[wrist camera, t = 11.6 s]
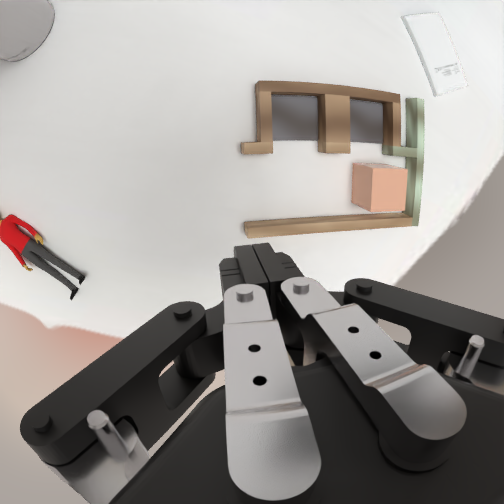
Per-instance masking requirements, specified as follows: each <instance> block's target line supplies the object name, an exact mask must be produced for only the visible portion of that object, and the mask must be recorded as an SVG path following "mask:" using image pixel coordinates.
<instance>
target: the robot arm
mask: <svg viewBox="0 0 504 504" xmlns="http://www.w3.org/2000/svg"><path fill="white" fill-rule="evenodd" d="M53 21H54V8H53V6H52V4H51V3H50V2H49V1H48V0H0V59H3V60H8V61H18V60H21V59H23V58H25V57H27V56H29V55H30V54H31V53H33V52H34V51H35V50H36V49H37V48H38V47H39V46H40V45H41V44H42V42H43V41H44V40H45V38H46V37H47V35H48V33H49V31H50V29H51V27H52V24H53ZM219 267H220V277H221V286H222V295H223V301H222V302H221V303H220V304H219V305H217V306H215V307H213V308H210V309H207V310H205V309H204V307H203V306H202V305H201V304H199V303H196V302H190V301H185V302H178V303H175V304H172V305H170V306H168V307H167V308H165V309H164V310H163V311H161V312H160V313H159V314H157V315H156V316H155V317H153V318H152V319H150V320H149V321H148V322H146V323H145V324H144V325H142V326H141V327H140V328H138V329H137V330H136V331H134V332H133V333H131V334H130V335H129V336H127V337H126V338H125V339H123V340H122V341H121V342H119V343H118V344H117V345H115V346H114V347H113V348H111V349H110V350H109V351H107V352H106V353H104V354H103V355H102V356H100V357H99V358H98V359H96V360H95V361H94V362H92V363H91V364H90V365H88V366H87V367H86V368H84V369H83V370H82V371H80V372H79V373H78V374H76V375H75V376H74V377H72V378H71V379H70V380H68V381H67V382H65V383H64V384H63V385H61V386H60V387H59V388H57V389H56V390H55V391H54V392H52V393H51V394H49V395H48V396H47V397H45V398H44V399H43V400H41V401H40V402H39V403H37V404H36V405H35V406H33V407H32V408H31V409H30V410H28V411H27V413H26V414H25V415H24V416H23V418H22V420H21V424H20V432H21V435H22V437H23V439H24V440H25V441H26V442H27V443H28V444H29V446H30V447H31V448H32V449H33V450H34V451H35V452H36V453H37V454H38V456H39V457H40V459H41V460H42V461H43V462H44V463H45V464H46V465H47V466H48V467H49V468H50V469H51V470H52V471H53V472H54V473H55V474H56V475H57V476H58V477H59V478H60V479H61V480H62V481H64V482H66V483H67V484H68V485H69V486H71V487H72V488H73V489H74V490H75V491H76V492H78V493H79V494H81V496H82V497H83V498H84V499H85V500H86V501H88V502H89V503H90V504H504V319H501V318H497V317H494V316H491V315H487V314H484V313H481V312H477V311H474V310H471V309H468V308H464V307H461V306H458V305H454V304H451V303H448V302H444V301H441V300H438V299H434V298H431V297H428V296H424V295H421V294H417V293H414V292H411V291H407V290H404V289H401V288H397V287H394V286H391V285H387V284H384V283H381V282H377V281H374V280H370V279H364V278H358V279H352V280H350V281H348V282H347V283H346V284H345V288H344V292H331V291H327V290H326V289H325V288H324V287H323V286H322V285H321V284H320V283H319V282H318V281H316V280H314V279H312V278H307V277H304V275H303V274H302V273H301V271H300V270H299V268H298V267H297V266H296V264H295V263H294V261H293V260H292V259H291V257H290V256H288V255H286V254H285V253H283V252H278V253H275V252H274V250H273V249H272V247H271V246H270V244H269V243H261V244H252V246H251V245H243V246H234V258H226V259H223V260H222V261H221V263H220V264H219ZM378 318H380V319H383V320H386V321H389V322H392V323H394V324H398V325H401V326H403V327H406V328H407V329H408V330H409V331H410V333H411V341H410V344H409V345H405V344H402V343H399V342H396V341H394V340H392V339H391V338H390V337H389V336H388V335H387V334H386V333H385V332H384V331H383V330H382V329H381V328H380V326H378V325H377V323H378ZM448 351H450V352H448ZM172 360H173V361H174V364H173V365H172V366H171V367H170V368H169V369H168V370H167V371H166V372H164V373H163V374H162V375H161V376H160V377H159V375H160V373H161V371H162V370H163V369H164V368H165V367H166V366H167V365H168V364H169V363H170V362H172ZM223 369H225V385H223V386H221V387H219V388H217V389H216V390H214V391H212V392H211V393H210V394H208V395H207V396H205V397H204V398H203V399H202V400H201V401H200V402H199V403H198V404H197V405H196V407H195V408H194V409H193V410H192V411H191V413H190V414H189V415H188V416H187V417H186V418H185V420H184V421H183V422H182V423H181V424H180V425H179V426H178V428H177V429H176V430H175V431H174V432H173V433H172V435H171V436H170V437H169V438H168V439H167V440H166V441H165V443H164V444H163V445H162V446H161V447H160V448H159V449H158V450H157V451H156V453H155V454H154V455H153V456H152V457H151V458H150V459H149V454H148V450H149V449H150V448H151V447H152V446H153V445H154V444H155V443H156V442H157V441H158V440H159V439H160V438H161V437H162V436H163V435H164V433H166V432H167V431H168V430H169V428H170V427H171V426H172V425H173V424H174V423H175V422H176V421H177V420H178V419H179V418H180V417H181V416H182V415H183V414H184V413H185V412H186V410H187V409H188V408H189V407H190V406H191V405H192V404H193V403H194V402H195V401H196V400H197V399H198V398H199V396H200V395H201V394H202V393H203V392H204V391H205V390H206V389H207V388H208V387H209V385H210V384H211V383H212V382H213V381H214V379H215V372H218V371H220V370H223Z"/></svg>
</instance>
